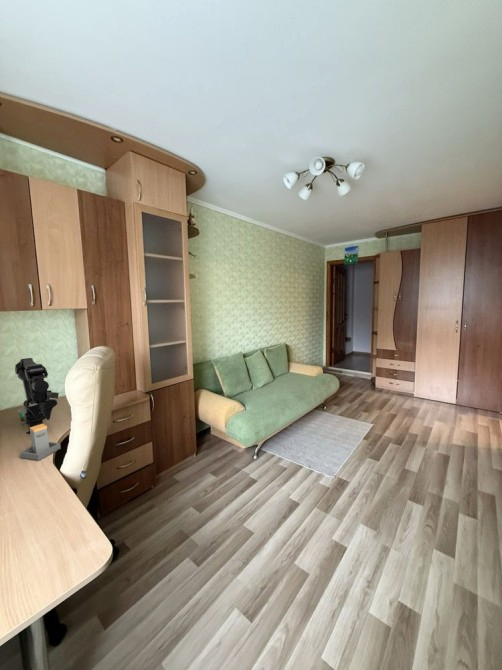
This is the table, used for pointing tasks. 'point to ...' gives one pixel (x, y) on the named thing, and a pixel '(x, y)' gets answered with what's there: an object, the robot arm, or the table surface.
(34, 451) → the gray orange box
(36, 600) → the table surface
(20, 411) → the food container
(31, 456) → the tray
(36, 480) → the table surface
